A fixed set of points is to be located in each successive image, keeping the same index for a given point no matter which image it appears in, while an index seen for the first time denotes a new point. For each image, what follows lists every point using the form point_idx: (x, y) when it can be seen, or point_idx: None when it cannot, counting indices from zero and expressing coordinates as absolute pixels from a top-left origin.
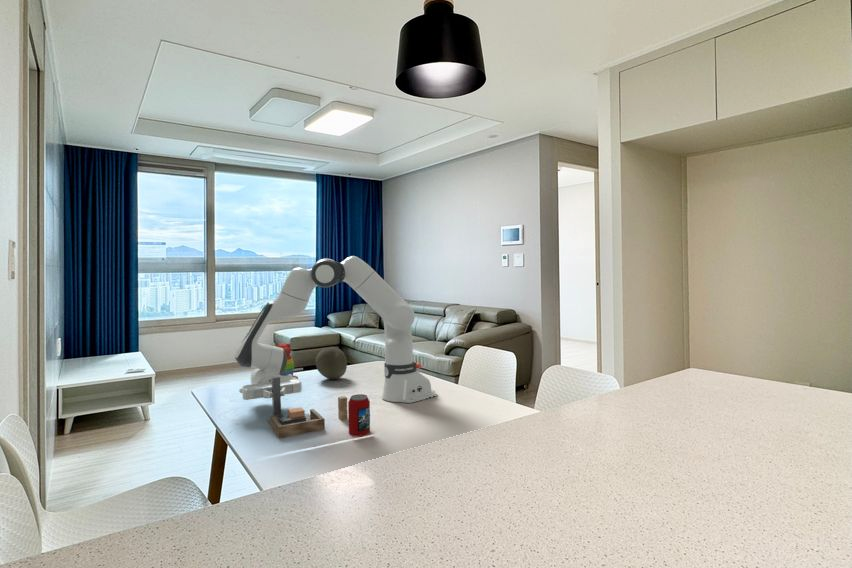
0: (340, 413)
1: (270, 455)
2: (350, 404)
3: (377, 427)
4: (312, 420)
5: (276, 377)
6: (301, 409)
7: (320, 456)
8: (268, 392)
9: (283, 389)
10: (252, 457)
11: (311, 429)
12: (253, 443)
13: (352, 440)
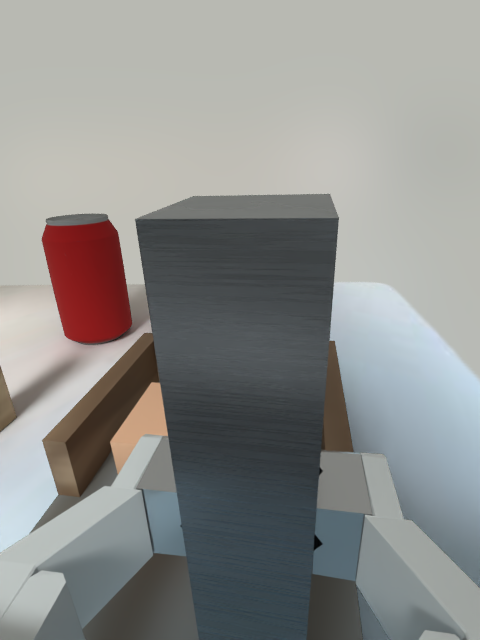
0: (2, 385)
1: (372, 336)
2: (117, 234)
3: (23, 341)
4: None
5: (257, 195)
6: (150, 401)
7: None
8: (387, 474)
9: (102, 490)
10: (426, 343)
11: None
12: (440, 409)
13: (149, 321)
